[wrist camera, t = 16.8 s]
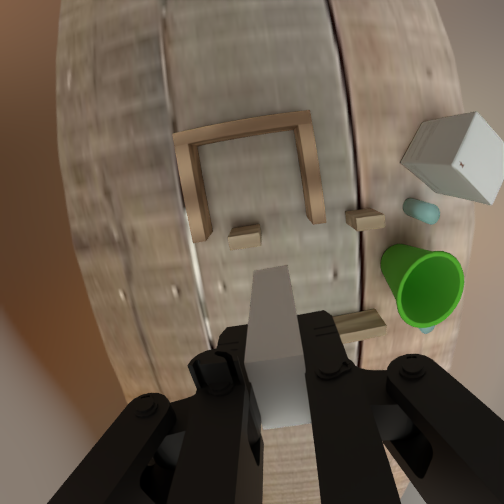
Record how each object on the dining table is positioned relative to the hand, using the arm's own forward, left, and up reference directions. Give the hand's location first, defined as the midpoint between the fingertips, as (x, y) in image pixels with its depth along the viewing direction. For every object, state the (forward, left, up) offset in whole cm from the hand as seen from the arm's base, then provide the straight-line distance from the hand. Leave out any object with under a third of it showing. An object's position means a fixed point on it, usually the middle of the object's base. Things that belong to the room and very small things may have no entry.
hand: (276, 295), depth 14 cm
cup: (+9, +17, -26) cm, 32 cm away
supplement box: (-4, +23, -26) cm, 35 cm away
